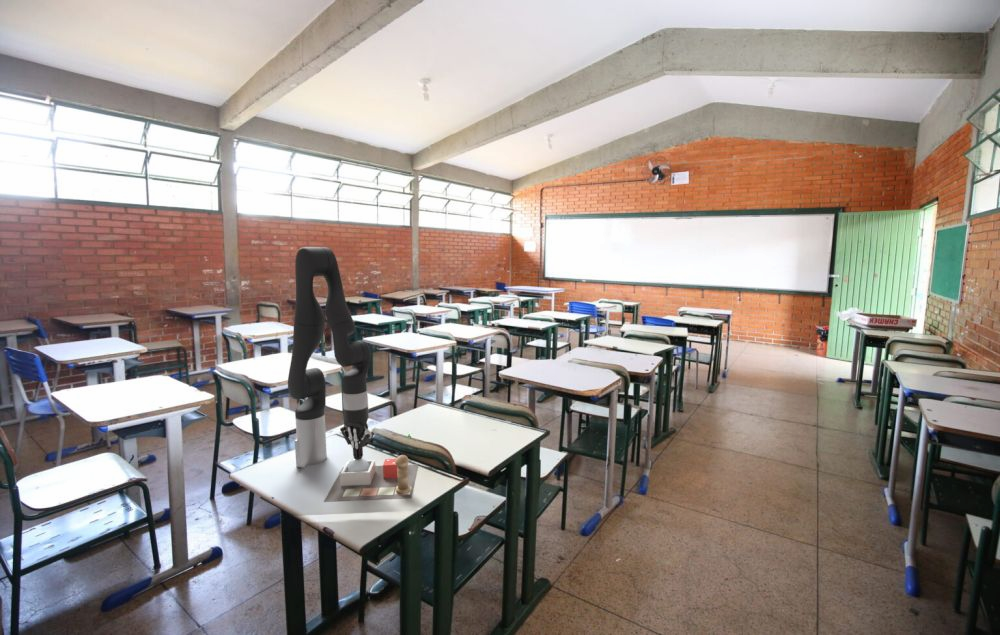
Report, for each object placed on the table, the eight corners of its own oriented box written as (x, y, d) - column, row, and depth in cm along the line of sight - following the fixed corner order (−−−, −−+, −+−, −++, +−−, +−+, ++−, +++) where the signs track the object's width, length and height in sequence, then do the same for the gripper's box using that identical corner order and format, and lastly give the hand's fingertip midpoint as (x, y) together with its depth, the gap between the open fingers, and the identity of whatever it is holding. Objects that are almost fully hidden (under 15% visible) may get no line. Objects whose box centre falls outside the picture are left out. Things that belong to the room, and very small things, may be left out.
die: (383, 478, 148) (382, 465, 148) (385, 472, 153) (385, 458, 152) (397, 477, 149) (397, 464, 148) (399, 471, 153) (398, 458, 152)
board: (323, 506, 135) (323, 501, 134) (343, 471, 156) (342, 466, 156) (411, 502, 137) (411, 497, 136) (418, 468, 158) (418, 464, 158)
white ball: (345, 482, 145) (344, 463, 144) (350, 472, 151) (349, 454, 150) (366, 481, 145) (366, 462, 144) (370, 472, 152) (370, 453, 151)
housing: (341, 485, 144) (340, 473, 143) (347, 472, 152) (347, 460, 152) (370, 484, 144) (369, 472, 144) (375, 471, 153) (375, 459, 152)
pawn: (395, 494, 138) (393, 458, 137) (396, 487, 142) (395, 452, 141) (409, 493, 139) (408, 458, 137) (410, 486, 143) (409, 452, 141)
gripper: (380, 405, 145) (382, 458, 147) (350, 398, 151) (352, 449, 154) (361, 412, 138) (364, 467, 141) (331, 405, 145) (334, 458, 147)
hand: (358, 458), depth 147 cm, fingers closed
